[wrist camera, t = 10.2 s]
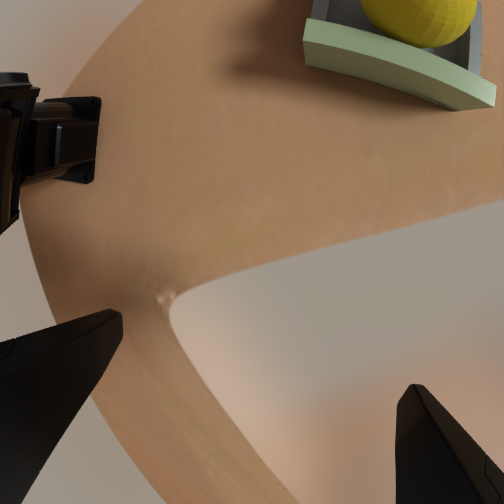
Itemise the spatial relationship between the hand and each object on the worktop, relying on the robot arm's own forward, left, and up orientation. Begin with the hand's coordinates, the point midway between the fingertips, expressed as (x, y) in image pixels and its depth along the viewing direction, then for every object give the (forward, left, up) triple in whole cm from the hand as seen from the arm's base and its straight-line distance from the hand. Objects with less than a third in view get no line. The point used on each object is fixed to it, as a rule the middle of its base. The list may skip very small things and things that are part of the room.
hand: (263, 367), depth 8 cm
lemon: (+3, +15, -11) cm, 19 cm away
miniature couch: (+3, +14, -12) cm, 19 cm away
